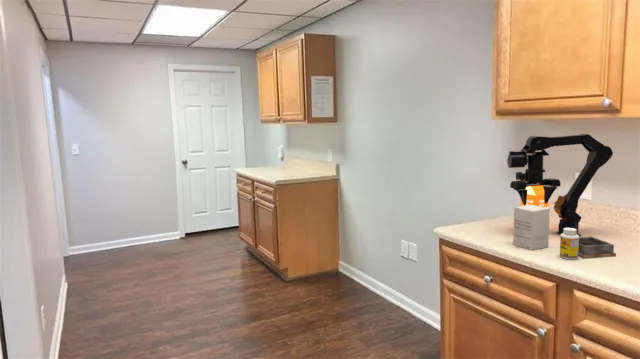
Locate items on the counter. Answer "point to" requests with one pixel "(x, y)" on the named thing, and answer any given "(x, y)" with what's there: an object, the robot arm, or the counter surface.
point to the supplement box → (531, 227)
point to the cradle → (594, 248)
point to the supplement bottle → (569, 244)
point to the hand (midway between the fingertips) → (535, 204)
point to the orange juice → (535, 196)
